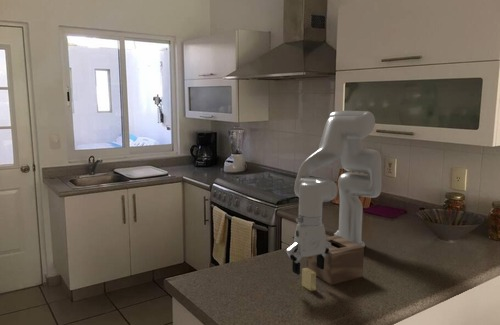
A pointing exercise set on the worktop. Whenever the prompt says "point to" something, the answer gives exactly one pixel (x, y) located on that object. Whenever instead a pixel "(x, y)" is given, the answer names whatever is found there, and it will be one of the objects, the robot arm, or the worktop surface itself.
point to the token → (308, 279)
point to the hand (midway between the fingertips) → (308, 270)
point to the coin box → (339, 261)
